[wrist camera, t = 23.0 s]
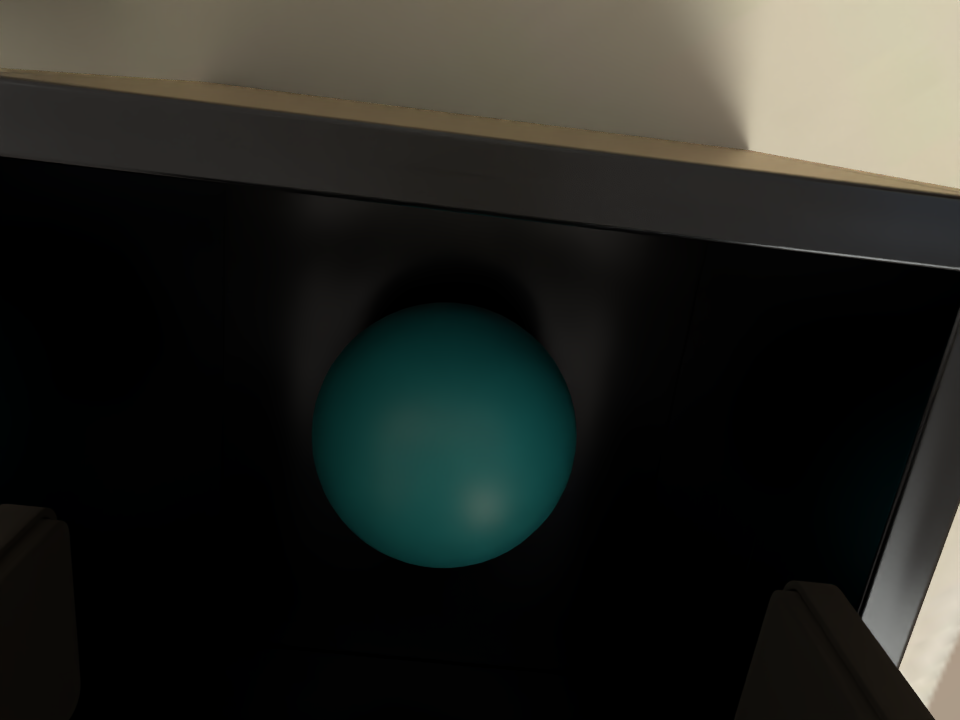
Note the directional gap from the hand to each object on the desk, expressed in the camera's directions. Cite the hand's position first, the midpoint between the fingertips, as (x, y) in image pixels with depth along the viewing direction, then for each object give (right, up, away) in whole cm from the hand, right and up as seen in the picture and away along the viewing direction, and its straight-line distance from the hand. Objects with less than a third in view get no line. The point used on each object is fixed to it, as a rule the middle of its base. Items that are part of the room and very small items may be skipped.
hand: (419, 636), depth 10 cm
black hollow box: (0, +2, +12) cm, 12 cm away
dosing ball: (0, +2, +7) cm, 8 cm away
